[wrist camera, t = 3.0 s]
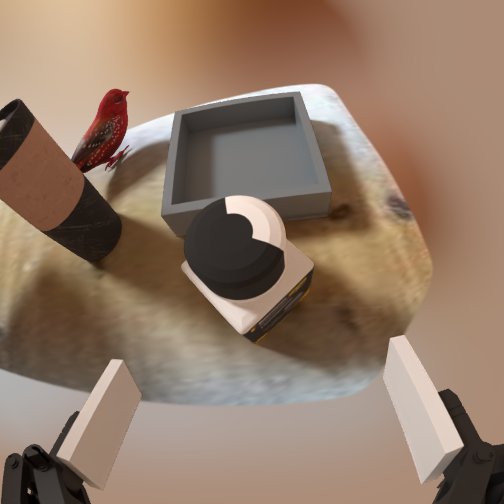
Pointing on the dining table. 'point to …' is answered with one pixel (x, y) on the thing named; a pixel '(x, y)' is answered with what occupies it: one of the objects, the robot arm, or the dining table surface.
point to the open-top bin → (245, 159)
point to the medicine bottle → (246, 264)
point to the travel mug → (52, 188)
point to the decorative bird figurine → (104, 133)
